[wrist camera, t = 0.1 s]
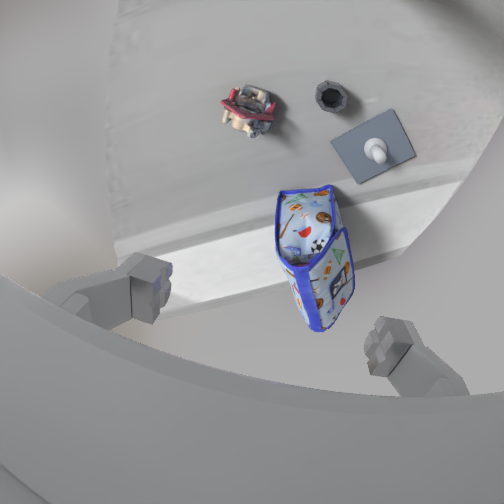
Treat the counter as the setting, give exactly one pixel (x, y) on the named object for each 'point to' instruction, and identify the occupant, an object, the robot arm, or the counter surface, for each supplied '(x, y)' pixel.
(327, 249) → the lunch bag
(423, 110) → the counter surface
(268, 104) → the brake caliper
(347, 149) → the post block
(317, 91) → the hub ring
